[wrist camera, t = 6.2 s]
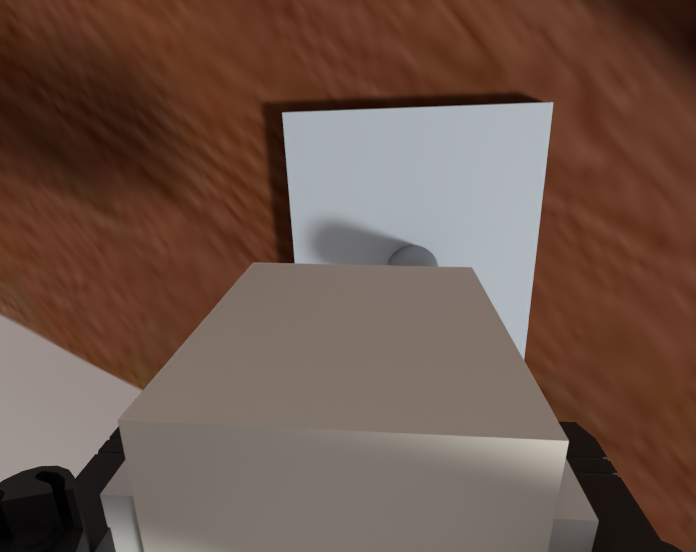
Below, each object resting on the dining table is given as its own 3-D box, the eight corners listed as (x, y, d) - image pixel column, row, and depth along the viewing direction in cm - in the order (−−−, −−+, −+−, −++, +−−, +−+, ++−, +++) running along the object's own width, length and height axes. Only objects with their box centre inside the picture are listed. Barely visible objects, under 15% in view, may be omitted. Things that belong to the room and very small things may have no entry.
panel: (287, 111, 26) (258, 116, 20) (544, 101, 25) (594, 104, 19) (309, 382, 33) (291, 448, 27) (513, 385, 32) (543, 454, 25)
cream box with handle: (252, 262, 13) (105, 434, 6) (472, 267, 13) (578, 456, 6) (265, 439, 15) (166, 719, 8) (455, 448, 15) (517, 751, 8)
